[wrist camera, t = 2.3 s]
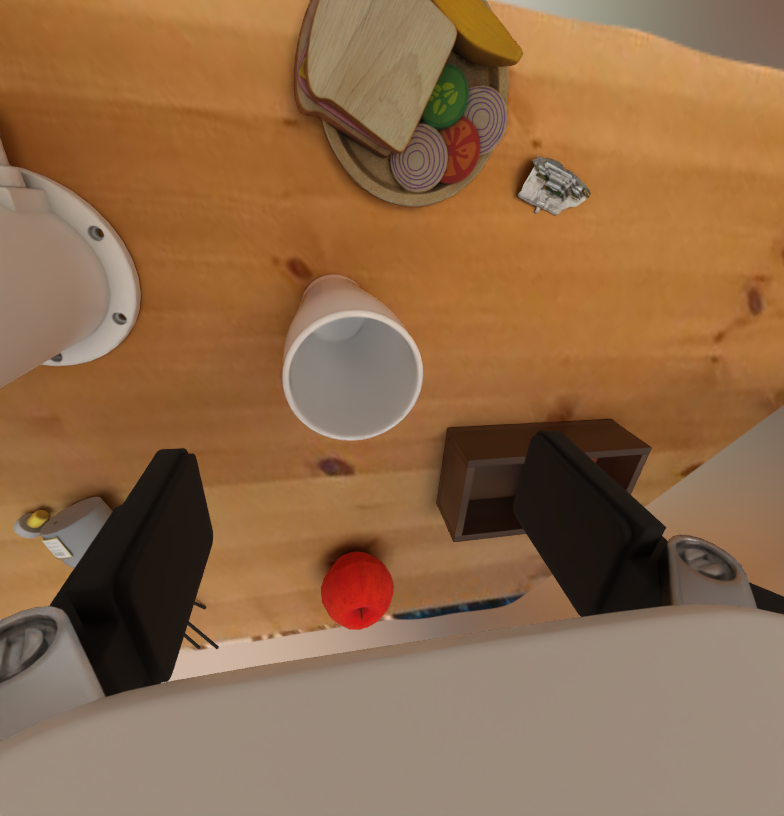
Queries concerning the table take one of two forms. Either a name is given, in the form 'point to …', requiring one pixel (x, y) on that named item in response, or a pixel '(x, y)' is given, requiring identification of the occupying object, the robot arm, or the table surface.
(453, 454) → the divided wooden box
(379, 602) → the apple
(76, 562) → the reed diffuser
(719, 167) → the table surface
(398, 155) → the toy sandwich meal
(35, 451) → the table surface
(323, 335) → the tall white cup
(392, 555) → the table surface
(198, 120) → the table surface
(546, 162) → the silver ridged wedge
